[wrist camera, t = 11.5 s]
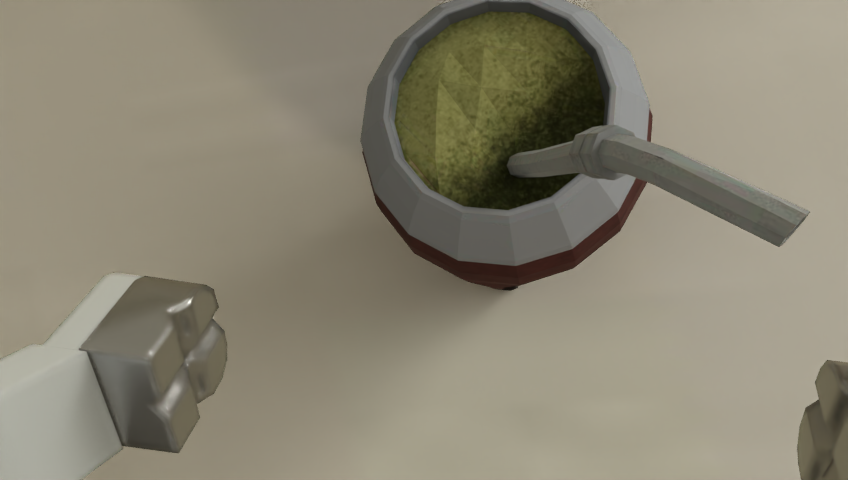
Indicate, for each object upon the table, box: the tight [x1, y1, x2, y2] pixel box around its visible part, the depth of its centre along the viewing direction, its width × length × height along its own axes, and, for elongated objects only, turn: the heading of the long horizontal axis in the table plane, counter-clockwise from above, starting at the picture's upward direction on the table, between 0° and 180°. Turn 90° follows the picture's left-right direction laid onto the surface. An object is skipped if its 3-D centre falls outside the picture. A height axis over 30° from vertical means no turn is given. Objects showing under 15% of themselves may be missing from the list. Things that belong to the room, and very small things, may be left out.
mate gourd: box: [361, 0, 810, 290], centre depth 17 cm, size 8×8×15 cm
